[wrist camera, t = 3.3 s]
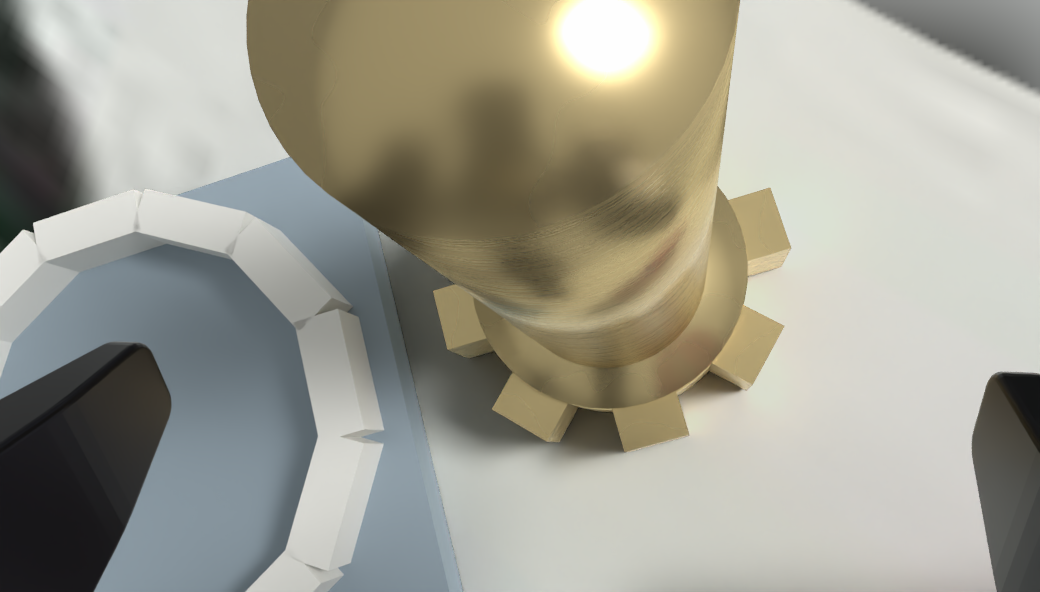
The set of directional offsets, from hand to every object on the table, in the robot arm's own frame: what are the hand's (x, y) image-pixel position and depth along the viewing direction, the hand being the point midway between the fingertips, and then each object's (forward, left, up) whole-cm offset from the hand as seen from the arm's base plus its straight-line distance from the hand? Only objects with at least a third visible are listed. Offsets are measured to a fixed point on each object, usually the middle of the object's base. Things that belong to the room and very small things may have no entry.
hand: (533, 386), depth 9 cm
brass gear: (+3, -1, -10) cm, 10 cm away
